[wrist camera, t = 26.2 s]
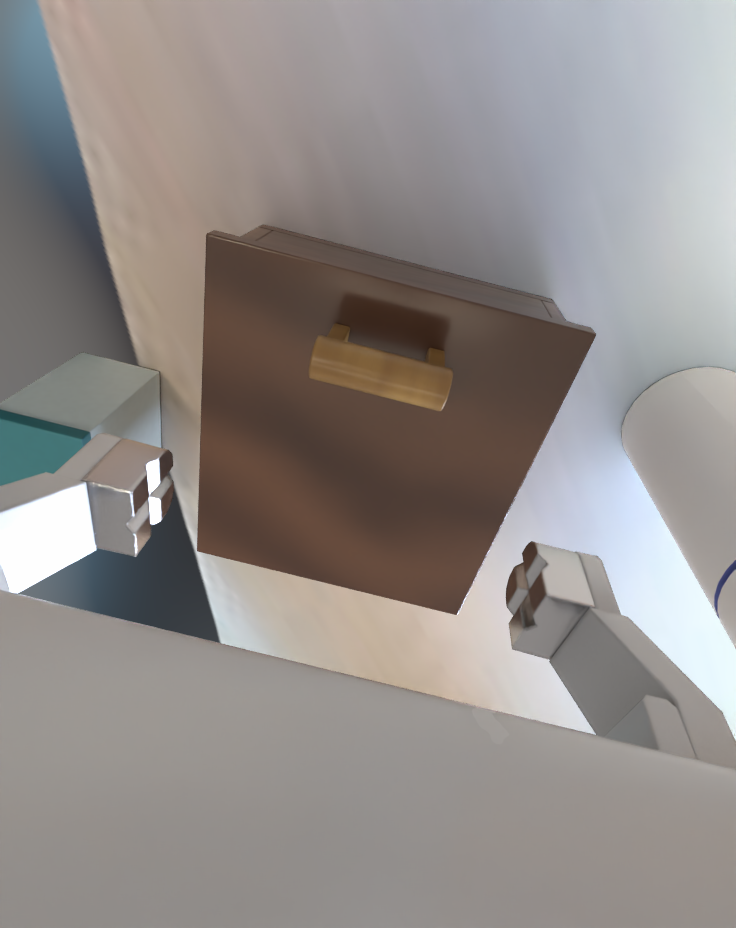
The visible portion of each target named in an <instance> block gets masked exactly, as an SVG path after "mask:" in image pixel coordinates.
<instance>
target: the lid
mask: <svg viewBox="0 0 736 928" xmlns="http://www.w3.org/2000/svg"><path fill="white" fill-rule="evenodd" d="M595 336H596V333H595V332H594V331H593V329H592V328H590V327H586V326H582V325H578V324H575V323H571V322H567V321H563V320H559V319H555V318H551V317H547V316H544V315H540V314H536V313H532V312H528V311H524V310H520V309H517V308H513V307H509V306H505V305H501V304H497V303H493V302H490V301H486V300H482V299H478V298H474V297H470V296H466V295H463V294H459V293H455V292H451V291H447V290H443V289H439V288H435V287H432V286H428V285H424V284H420V283H416V282H412V281H408V280H405V279H401V278H397V277H393V276H389V275H385V274H381V273H378V272H374V271H370V270H366V269H362V268H358V267H354V266H351V265H347V264H343V263H339V262H335V261H331V260H327V259H323V258H320V257H316V256H312V255H308V254H304V253H300V252H296V251H293V250H289V249H285V248H281V247H277V246H273V245H269V244H266V243H262V242H258V241H254V240H250V239H246V238H242V237H239V236H235V235H231V234H227V233H223V232H219V231H215V230H214V231H211V232H209V233H207V235H206V265H205V299H204V333H203V367H202V401H201V435H200V469H199V503H198V537H197V551H198V552H202V553H207V554H211V555H215V556H219V557H223V558H227V559H231V560H235V561H239V562H243V563H247V564H251V565H255V566H259V567H263V568H267V569H272V570H276V571H280V572H284V573H288V574H292V575H296V576H300V577H304V578H308V579H312V580H316V581H320V582H324V583H328V584H332V585H337V586H341V587H345V588H349V589H353V590H357V591H361V592H365V593H369V594H373V595H377V596H381V597H385V598H389V599H393V600H398V601H402V602H406V603H410V604H414V605H418V606H422V607H426V608H430V609H434V610H438V611H442V612H446V613H450V614H454V615H458V613H459V611H460V609H461V607H462V605H463V603H464V601H465V599H466V597H467V595H468V593H469V591H470V589H471V587H472V585H473V583H474V581H475V579H476V577H477V575H478V572H479V570H480V568H481V566H482V564H483V562H484V560H485V558H486V556H487V554H488V552H489V550H490V548H491V546H492V544H493V542H494V540H495V538H496V536H497V534H498V532H499V530H500V528H501V526H502V524H503V522H504V520H505V518H506V516H507V514H508V512H509V510H510V508H511V506H512V504H513V502H514V500H515V498H516V496H517V494H518V492H519V490H520V488H521V486H522V484H523V482H524V480H525V478H526V476H527V474H528V472H529V470H530V468H531V466H532V464H533V461H534V459H535V457H536V455H537V453H538V451H539V449H540V447H541V445H542V443H543V441H544V439H545V437H546V435H547V433H548V431H549V429H550V427H551V425H552V423H553V421H554V419H555V417H556V415H557V413H558V411H559V409H560V407H561V405H562V403H563V401H564V399H565V397H566V395H567V393H568V391H569V389H570V387H571V385H572V383H573V381H574V379H575V377H576V375H577V373H578V371H579V369H580V367H581V365H582V363H583V361H584V359H585V357H586V355H587V353H588V350H589V348H590V346H591V344H592V342H593V340H594V338H595Z"/></svg>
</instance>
